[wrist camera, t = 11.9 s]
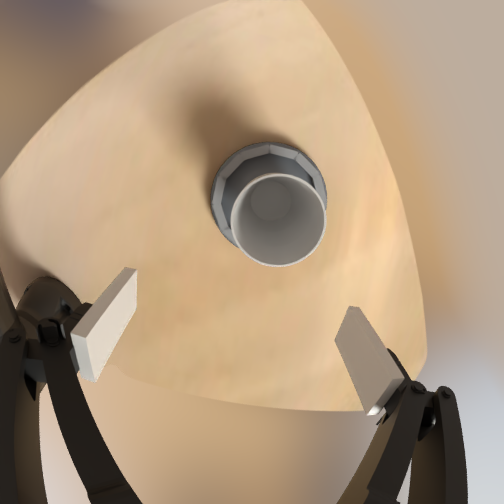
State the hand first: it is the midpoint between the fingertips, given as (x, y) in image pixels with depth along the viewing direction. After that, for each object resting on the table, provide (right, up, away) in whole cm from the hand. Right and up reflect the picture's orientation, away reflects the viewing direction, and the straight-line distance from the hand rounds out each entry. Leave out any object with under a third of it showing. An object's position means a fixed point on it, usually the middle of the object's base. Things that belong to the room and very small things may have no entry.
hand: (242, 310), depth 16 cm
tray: (+3, +10, +17) cm, 20 cm away
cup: (+3, +9, +16) cm, 19 cm away
